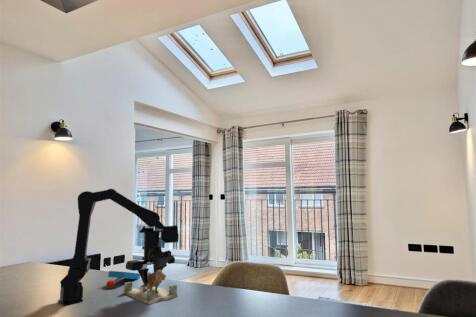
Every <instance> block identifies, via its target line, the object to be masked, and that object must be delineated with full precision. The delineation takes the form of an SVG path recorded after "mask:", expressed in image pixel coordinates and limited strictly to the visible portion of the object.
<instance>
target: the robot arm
mask: <svg viewBox="0 0 476 317" xmlns="http://www.w3.org/2000/svg"><path fill="white" fill-rule="evenodd" d="M107 200H111V201H112V202H114V203H115V204H117V205H119V206H120V207H122V208H124V209H126V210H128V211H129V212H131V213H132V214H134V215H135V216H136V217H137V218H138V219H139V220H141V221H142V222H143V223H144V224H145V225H146V226H147V227H146V226H145V225H143V226H142V228H141V229H139V233H140V234H144V238H143V240H144V241H143V242H144V243H143V246H142V248H141V249H142V250H143V256H142V257H141V260H138V259H132V260H127V261H126V263H125V269H126V270H128V271H133V272H134V271H137V273H138V274H140V278H141V281H142V284H144V286H147V272H149V270H150V268H148V267H147V266H151V265H152V266H153V268H152V269H153V273H154V272H155V271H157V270H162V271H163V270H164V269H165V268H166V267H167V266H168V265H169V264H170V265H171V264H175V262H176V260H175V259H176V258H175V256H174V255H172V251H171V250H166V251H162V246H160V241H162V242H163V244H172V243H173V244H174V243H179V236H180V235H179V229H178V228H179V226H178V225H177V224H175V225H164V223H162V222H161V221H160V220H161V218H160V215H159V214H158V213H157V212H156V211H153V210H151V209H149V208H147V207H143V206H141V205H139V204H138V203H136V202H135V201H133V200H132V199H129V198H128V197H126V196H125V195H123V194H121V193H120V192H118V191H116V189H114V188H108V189H106V190H101V191H94V192H93V191H90V190H89V191H88V190H87V191H82V192H80V193H79V194H78V197H77V209H78V215H79V217H78V225H77V230H76V240H75V247H74V254H73V257H72V259H71V262H70V264H69V268H68V270H67V274H66V275H65V276H64V277H63V278H62V279H61V280H60V281H59V284H60V289H59V290H60V291H59V292H60V293H59V294H60V295H59V299H58V300H57V302H58V303H60V304H61V305H62V306H67V305H71V304H76V303H81V302H83V301H84V299H83V297H84V286H83V283H82V282H81V280H82V279H83V278H85V276H86V274H88V272H89V271H90V269H91V266H90V264H91V260H92V258H91V257H88V255H87V250H88V242H89V234H90V229H91V228H90V227H91V220H92V219H91V218H92V215H93V212H94V209H95V206H96V203H97V202H98V203H99V202H102V201H107ZM154 228H156V229H154Z"/></svg>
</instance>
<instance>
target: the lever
mask: <svg viewBox="0 0 476 317" xmlns="http://www.w3.org/2000/svg"><path fill="white" fill-rule="evenodd" d="M107 277H108V278H116V279H114V280H112V279H109V280H108V281H107V282H106V284H105V286H106V288H107V289H113V288H114V287H115V285H116V283H117V282H120V281H121V280H122V279H130V280H131V279H132V280H139V279H140V278H141V276H140V274H139V272H127V271H117V270H109V271H108V275H107Z"/></svg>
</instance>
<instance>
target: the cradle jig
mask: <svg viewBox="0 0 476 317" xmlns="http://www.w3.org/2000/svg"><path fill="white" fill-rule="evenodd" d="M123 285H124V287H123V288H124V289H123V294H124V295H127V296H129V297H131V298H134V299H135V300H136V299H137V300H138V301H141V302H144V303H146V304H148V305H152V304H154V303H158V302H162V301H163V302H164V301H166V300H170V299H173V298H177V297H178V285H177V284H171V285H168V289H165V288H163V287H159V286H158V288H157V291H158V292H159V293H155V287H153V288H152V290H150V288H147V286H145V290H146V291H143V287H141V286H139V287H133V282H132V281H128V282H124V284H123ZM149 287H150V285H149Z"/></svg>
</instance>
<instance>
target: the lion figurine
mask: <svg viewBox="0 0 476 317" xmlns="http://www.w3.org/2000/svg"><path fill="white" fill-rule="evenodd" d="M166 278H167V275H166V274H165V273H163V270H157V271H155V272H154V271H153V272H152V273H151V272H149V271H148V272H147V288H150V290H152V288H153V287H155V293H159V292H158V291H157V288H158V287H159V286H160V285H161V284H162V283H163V281H165V280H166ZM149 285H150V287H149ZM140 287H143V291H146V290H145V286H144V283H142V285H141V286H140Z"/></svg>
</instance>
